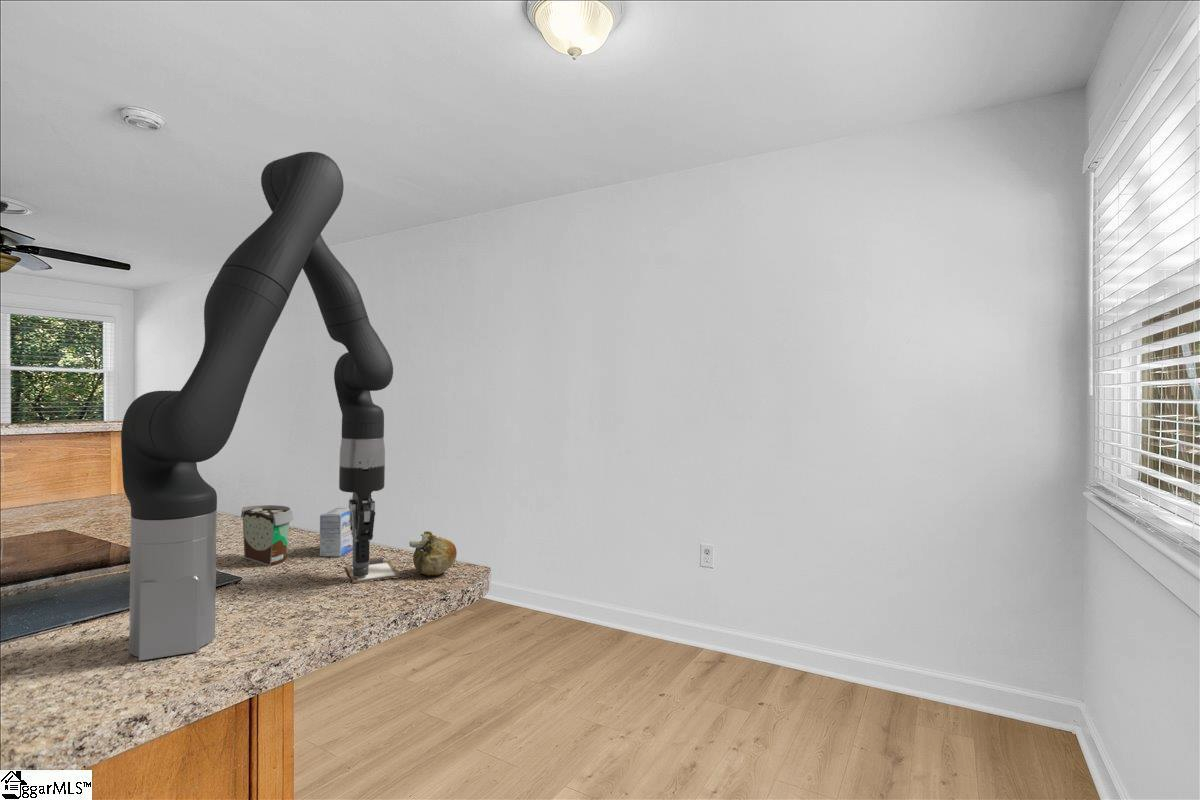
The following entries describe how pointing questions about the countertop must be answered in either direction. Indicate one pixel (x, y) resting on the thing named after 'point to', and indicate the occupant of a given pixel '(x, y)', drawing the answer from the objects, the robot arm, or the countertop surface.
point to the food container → (266, 533)
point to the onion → (433, 554)
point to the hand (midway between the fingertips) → (360, 559)
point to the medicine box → (335, 533)
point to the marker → (359, 568)
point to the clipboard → (375, 571)
